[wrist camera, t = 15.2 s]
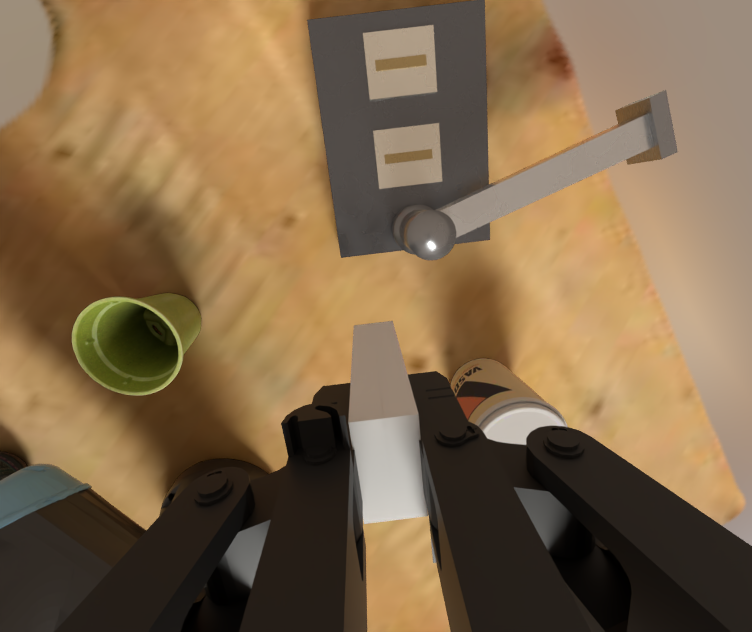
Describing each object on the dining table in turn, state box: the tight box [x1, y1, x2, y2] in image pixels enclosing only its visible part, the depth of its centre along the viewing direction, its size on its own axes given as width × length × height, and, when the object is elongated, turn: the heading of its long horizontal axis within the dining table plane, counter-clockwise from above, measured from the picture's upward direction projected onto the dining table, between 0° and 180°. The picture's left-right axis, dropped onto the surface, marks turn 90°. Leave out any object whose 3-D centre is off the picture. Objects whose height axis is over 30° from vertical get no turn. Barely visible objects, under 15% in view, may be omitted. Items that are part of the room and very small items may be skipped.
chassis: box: [307, 0, 490, 258], centre depth 33 cm, size 15×20×6 cm
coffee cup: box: [450, 358, 567, 445], centre depth 39 cm, size 9×9×12 cm
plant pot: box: [72, 293, 201, 396], centre depth 36 cm, size 9×9×9 cm
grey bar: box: [399, 90, 677, 260], centre depth 29 cm, size 21×4×6 cm, turn 115°
